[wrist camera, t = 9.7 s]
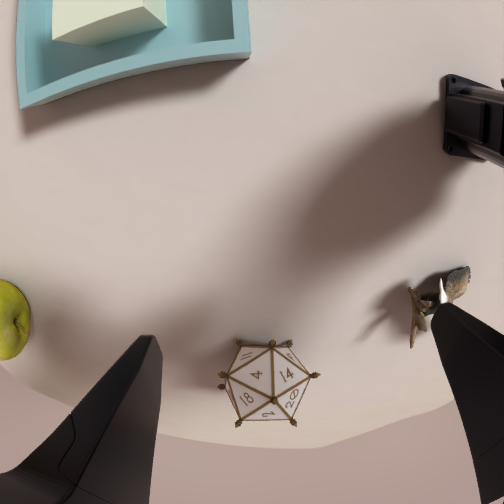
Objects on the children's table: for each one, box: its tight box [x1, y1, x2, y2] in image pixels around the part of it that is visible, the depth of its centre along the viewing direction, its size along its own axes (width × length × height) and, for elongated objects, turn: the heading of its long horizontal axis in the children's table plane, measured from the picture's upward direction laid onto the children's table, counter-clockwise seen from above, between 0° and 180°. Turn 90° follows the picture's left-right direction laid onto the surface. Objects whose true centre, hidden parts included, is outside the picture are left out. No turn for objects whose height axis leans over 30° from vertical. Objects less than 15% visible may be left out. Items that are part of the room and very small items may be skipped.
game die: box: [218, 338, 321, 428], centre depth 24 cm, size 9×8×10 cm
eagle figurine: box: [408, 266, 471, 348], centre depth 23 cm, size 8×7×9 cm
